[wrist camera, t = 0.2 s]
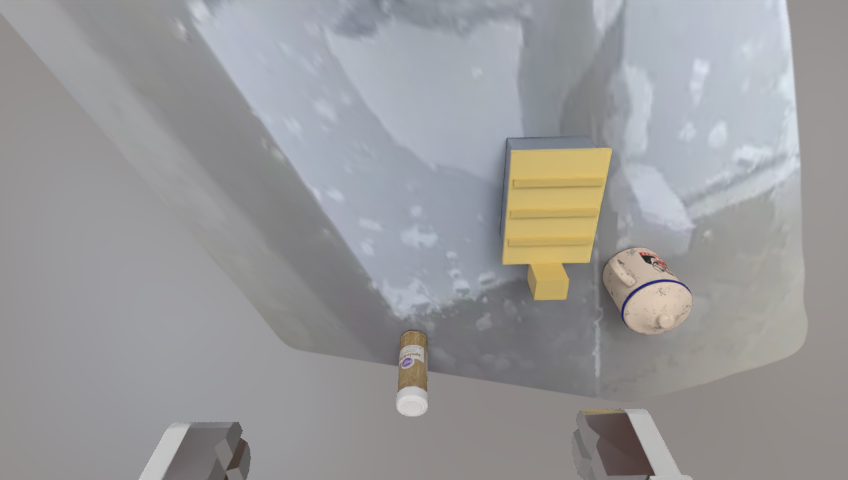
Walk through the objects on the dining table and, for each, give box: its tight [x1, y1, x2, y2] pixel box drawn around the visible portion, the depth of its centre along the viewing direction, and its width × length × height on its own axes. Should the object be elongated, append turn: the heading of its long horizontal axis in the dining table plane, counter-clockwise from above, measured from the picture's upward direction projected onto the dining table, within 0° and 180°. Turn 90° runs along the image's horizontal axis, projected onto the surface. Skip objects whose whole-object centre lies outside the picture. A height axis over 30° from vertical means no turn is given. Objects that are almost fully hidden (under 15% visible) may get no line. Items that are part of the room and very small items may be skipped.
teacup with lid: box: [603, 248, 692, 334], centre depth 61 cm, size 12×9×12 cm
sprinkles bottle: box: [396, 330, 428, 417], centre depth 68 cm, size 5×5×13 cm
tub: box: [500, 136, 598, 243], centre depth 57 cm, size 14×10×6 cm
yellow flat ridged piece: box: [502, 148, 612, 300], centre depth 53 cm, size 18×11×4 cm, turn 1°
